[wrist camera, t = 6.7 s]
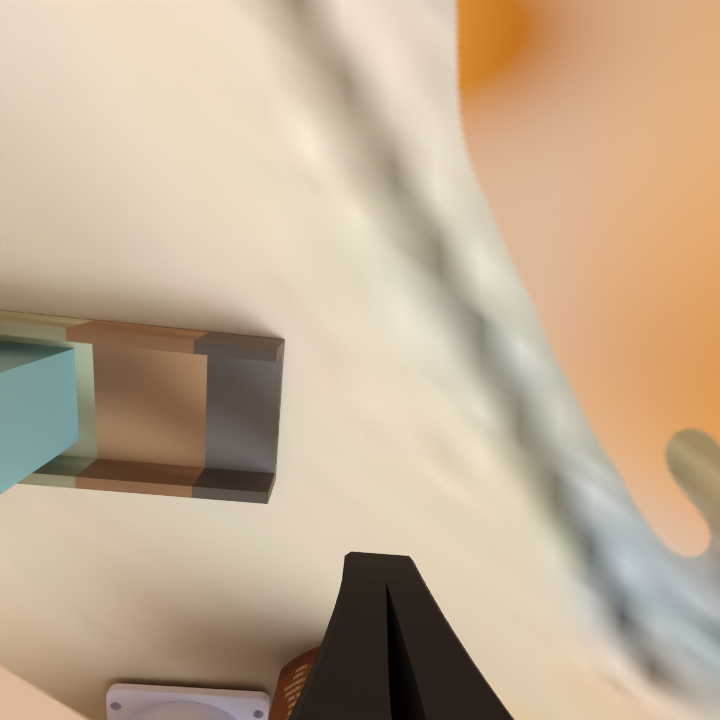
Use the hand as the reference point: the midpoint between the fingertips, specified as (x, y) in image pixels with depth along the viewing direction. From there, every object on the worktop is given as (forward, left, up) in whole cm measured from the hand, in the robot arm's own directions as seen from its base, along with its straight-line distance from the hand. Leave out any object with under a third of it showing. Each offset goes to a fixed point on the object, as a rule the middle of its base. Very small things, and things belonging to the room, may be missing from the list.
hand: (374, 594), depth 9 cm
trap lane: (0, +11, -9) cm, 15 cm away
